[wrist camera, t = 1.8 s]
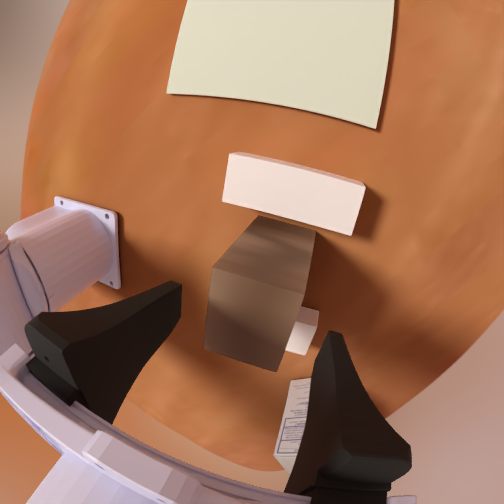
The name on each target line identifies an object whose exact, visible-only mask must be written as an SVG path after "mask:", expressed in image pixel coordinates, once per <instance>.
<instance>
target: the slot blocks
mask: <svg viewBox="0 0 504 504" xmlns="http://www.w3.org/2000/svg"><path fill="white" fill-rule="evenodd" d="M365 189H366V187H365V186H364V184H363V183H362V182H360V181H357V180H354V179H351V178H347V177H344V176H340V175H337V174H333V173H330V172H326V171H322V170H319V169H315V168H311V167H307V166H303V165H299V164H295V163H291V162H287V161H282V160H278V159H274V158H269V157H264V156H260V155H255V154H250V153H245V152H235V153H230V154H229V160H228V166H227V173H226V179H225V186H224V192H223V199H222V202H226V203H231V204H235V205H239V206H243V207H247V208H251V209H255V210H259V211H263V212H266V213H270V214H274V215H278V216H282V217H285V218H289V219H293V220H297V221H300V222H304V223H307V224H311V225H315V226H318V227H322V228H325V229H329V230H332V231H336V232H339V233H343V234H346V235H349V236H351V235H352V232H353V229H354V226H355V222H356V219H357V216H358V213H359V209H360V206H361V203H362V199H363V196H364V192H365ZM318 317H319V311H317V310H314V309H310V308H306V307H303V306H301V307H300V310H299V313H298V316H297V319H296V321H295V324H294V327H293V330H292V333H291V335H290V338H289V341H288V344H287V346H286V349H285V350H286V351H290V352H293V353H297V354H301V355H304V356H305V354H306V352H307V350H308V348H309V345H310V343H311V341H312V339H313V336H314V334H315V332H316V329H317V326H318Z"/></svg>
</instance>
